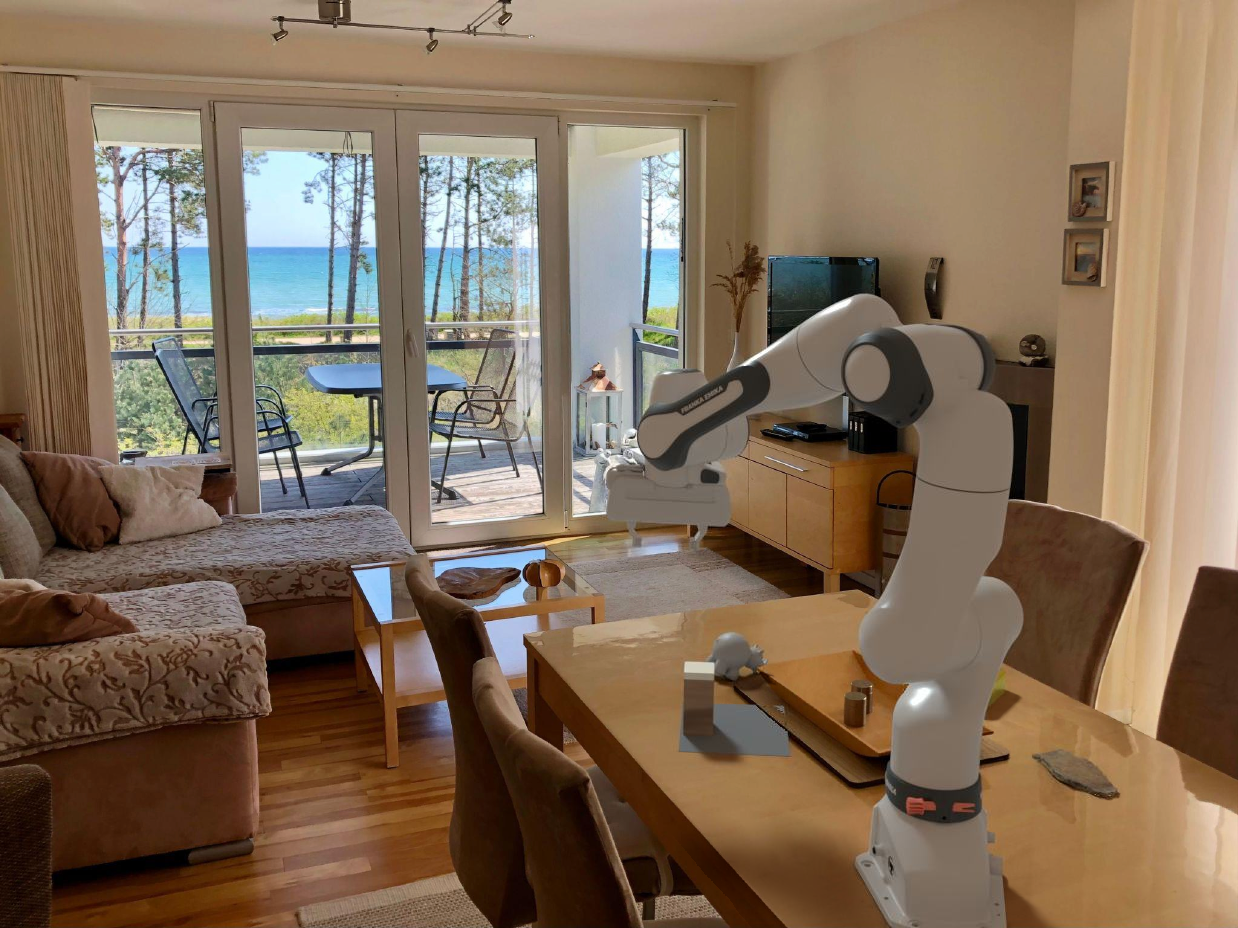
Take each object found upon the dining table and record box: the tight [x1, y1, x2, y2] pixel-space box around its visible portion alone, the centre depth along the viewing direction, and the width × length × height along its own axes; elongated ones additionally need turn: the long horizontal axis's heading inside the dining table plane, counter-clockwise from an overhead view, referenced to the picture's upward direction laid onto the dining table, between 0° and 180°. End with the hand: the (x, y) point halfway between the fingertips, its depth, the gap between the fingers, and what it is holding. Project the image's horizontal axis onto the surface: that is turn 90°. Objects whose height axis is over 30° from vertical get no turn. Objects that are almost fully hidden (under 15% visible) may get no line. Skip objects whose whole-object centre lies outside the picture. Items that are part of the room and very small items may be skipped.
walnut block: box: [682, 661, 715, 736], centre depth 186 cm, size 5×5×11 cm
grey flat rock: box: [1031, 748, 1119, 798], centre depth 172 cm, size 8×16×2 cm, turn 11°
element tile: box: [986, 667, 1007, 710], centre depth 204 cm, size 15×15×5 cm
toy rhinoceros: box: [704, 631, 769, 681], centre depth 211 cm, size 7×12×8 cm, turn 106°
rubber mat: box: [678, 701, 792, 757], centre depth 187 cm, size 20×18×1 cm
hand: (665, 547), depth 181 cm, fingers open, 8 cm apart
